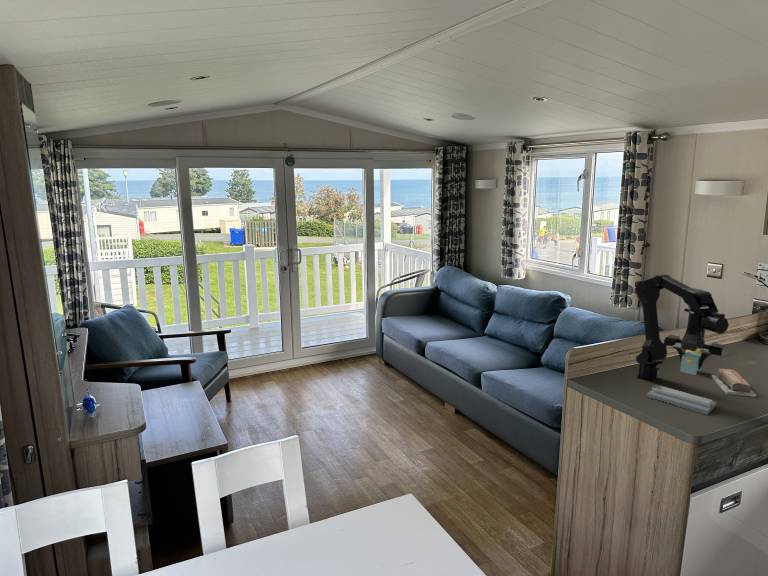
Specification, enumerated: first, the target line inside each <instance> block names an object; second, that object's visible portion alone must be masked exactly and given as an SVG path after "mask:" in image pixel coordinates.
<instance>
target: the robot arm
mask: <svg viewBox="0 0 768 576" xmlns="http://www.w3.org/2000/svg"><path fill="white" fill-rule="evenodd" d="M664 289H666V290H667V291H669V292H671V293H672V294H674V295H677V296H678V297H680V298H681V299H683V302H684V304H686V305H687V306H688V307H686V308H684V309H683V311H684V312H687V313H688V317H687V326H686V330H685V333H684V335H683V337H682V338H681V336H679V335H674V334H668V335H666V336H665V337H664V339H663V341H662V340H661V338H660V330H659V329H660V327H659V317H658V308H657V306H658V305H657V302H658V300H659V298H660V296H661V291H662V290H664ZM635 292H636V297H637V298H638V300H639V301H640V302H641V305H642V313H643V324H644V333H645V334H644V335H645V340H644V342H643V344H642V347H641V349H642V350H641V353H639V354H638V355H636V356H635V359H636V363H638V364H639V366H638V373H637V375H636V378H638V379H639V378H640V379H643V380H647V381H650V382H655V381H656V380H657V379H659V377H660V376H659V375H660V367H659V365H663V363H664V361H665V359H666V358H667V354H668V350H667V346H669V347H672V348H673V349H675V350H676V351H677V353H678V356H679V359H680V362H681V361H682V356H683V355H684V354H685V353H686V351H687V350H690V351H696V350H697V349H699V350H700V349H701V350H702V351H701V352H702V353H701V359H700V362H699V368H698V369H699V370H700V369H701V370H702V367H703V365H704V363H705V361H706V360H707V358H708V357H711V356H712V355H714V356H718V357H719V356H721V357H722V356H723V355H724V354H725V353H726V346H725V344H723V343H717V342H716V343H715V342H713V343H711V344H706V341H705V336H706V335H705V334H706V331H708V332H709V331H710V332H711V333H715V334H719V335H722V334H724V333H725V332H726V331H728V328H729V326H730V324H729V321H728V319H727V318H726V314H724V313H719V310H718V307H717V305H716V303H715V301H714V299H713V295H712V293H710V292H709V291H707V290H704V289H698V288H693V287H690V286H689V285H686V284H684V283H682V282H681V281H679V280H677V279H675V278H674V277H671V276H670V275H669V274H657V275H655V276H654V277H651V278H648V279H645V280H641V281H638V282H637V284H636V286H635ZM699 370H698V371H699Z"/></svg>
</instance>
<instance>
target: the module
mask: <svg viewBox="0 0 768 576" xmlns="http://www.w3.org/2000/svg"><path fill="white" fill-rule="evenodd" d="M700 359H701V354H698V353H693V352H687V353H685V354H684V355H683V356H682V361H681V360H680V362H681V363H680V369H679V372H681V373H684V374H685V373H686V374H689V375H695V376H696V375H697V372H698V371H702V368H701V369H700V370H699V369H698V368H699V362H700Z"/></svg>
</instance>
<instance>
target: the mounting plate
mask: <svg viewBox="0 0 768 576" xmlns="http://www.w3.org/2000/svg"><path fill="white" fill-rule="evenodd" d="M646 397H647V398H648V397H649V399H652V398H653V400H655V399H657V400H656V401H658V400H661V401H660V402H662V401H664V402H663V403H665V402H667V403H666V404H669V403H671V404H670V405H672V404H674V405H673V406H675V405H676V406H675V407H679V408H683V409H685V410H686V409H687V410H690V411H693V412H696V413H700V414H703V415H709V413H711V412H712V411H713V409H715V408H716V405H717V401H714V400H713V401H712V405H711V406H710V407H706V406H702V405H699V404H695V403H692V402H688V401H685V400H681V399H678V398H674V397H671V396H667V395H664V394H660V393H657V392H653V391H652V389H650V391H648V392H646Z"/></svg>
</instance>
